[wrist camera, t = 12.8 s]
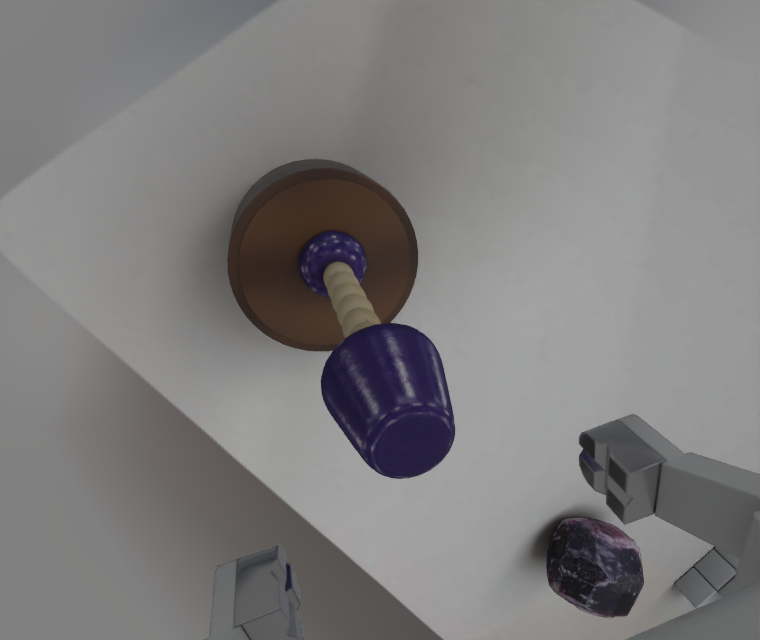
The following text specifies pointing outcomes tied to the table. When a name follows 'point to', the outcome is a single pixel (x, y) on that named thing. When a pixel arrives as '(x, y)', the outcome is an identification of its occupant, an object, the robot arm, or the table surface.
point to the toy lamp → (378, 369)
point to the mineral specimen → (595, 567)
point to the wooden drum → (292, 232)
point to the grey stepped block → (710, 578)
